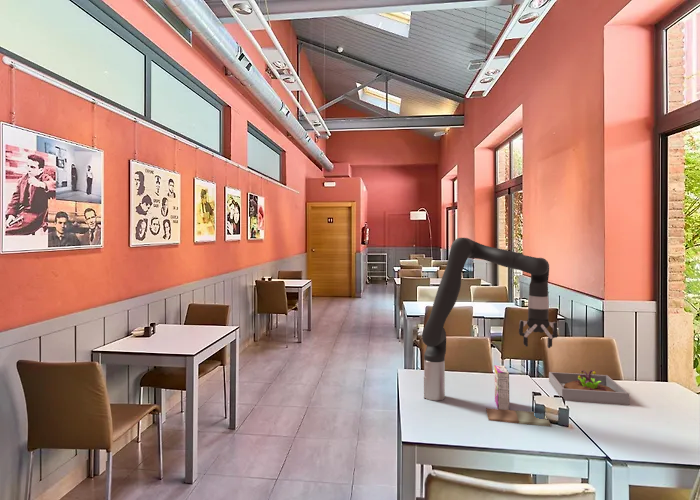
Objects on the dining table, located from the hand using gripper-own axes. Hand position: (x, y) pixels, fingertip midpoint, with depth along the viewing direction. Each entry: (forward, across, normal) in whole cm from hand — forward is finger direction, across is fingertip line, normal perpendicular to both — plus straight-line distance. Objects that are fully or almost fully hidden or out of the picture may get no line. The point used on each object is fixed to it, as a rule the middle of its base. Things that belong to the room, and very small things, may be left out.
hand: (537, 346), depth 171 cm
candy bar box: (+30, -12, +11) cm, 34 cm away
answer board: (+29, -8, -2) cm, 30 cm away
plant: (+29, +31, +39) cm, 58 cm away
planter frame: (+29, +29, +38) cm, 55 cm away
